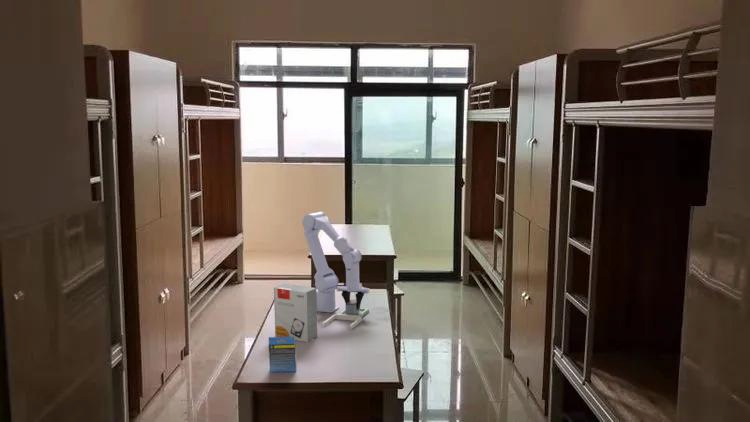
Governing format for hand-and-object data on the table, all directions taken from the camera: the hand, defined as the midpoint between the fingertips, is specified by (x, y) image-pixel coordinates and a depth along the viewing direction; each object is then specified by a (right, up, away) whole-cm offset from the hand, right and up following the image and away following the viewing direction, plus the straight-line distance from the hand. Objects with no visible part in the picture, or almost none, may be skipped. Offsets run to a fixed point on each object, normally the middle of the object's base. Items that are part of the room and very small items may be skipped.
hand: (353, 308), depth 285 cm
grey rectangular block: (0, -2, 0) cm, 2 cm away
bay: (-4, -5, -12) cm, 13 cm away
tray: (0, -3, 0) cm, 3 cm away
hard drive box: (-21, -7, -28) cm, 36 cm away
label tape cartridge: (-22, -12, -62) cm, 67 cm away
